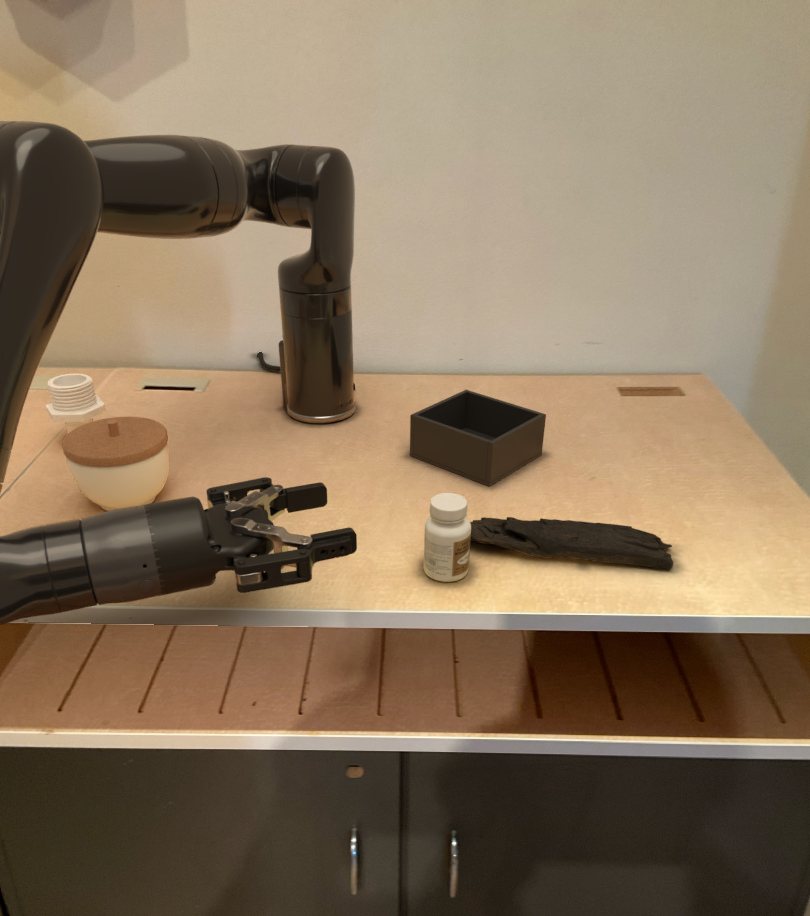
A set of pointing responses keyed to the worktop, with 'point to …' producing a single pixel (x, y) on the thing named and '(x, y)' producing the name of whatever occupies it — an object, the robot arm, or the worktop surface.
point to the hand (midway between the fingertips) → (340, 515)
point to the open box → (477, 436)
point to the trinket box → (118, 460)
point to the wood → (574, 540)
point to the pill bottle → (447, 538)
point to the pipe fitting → (73, 400)
